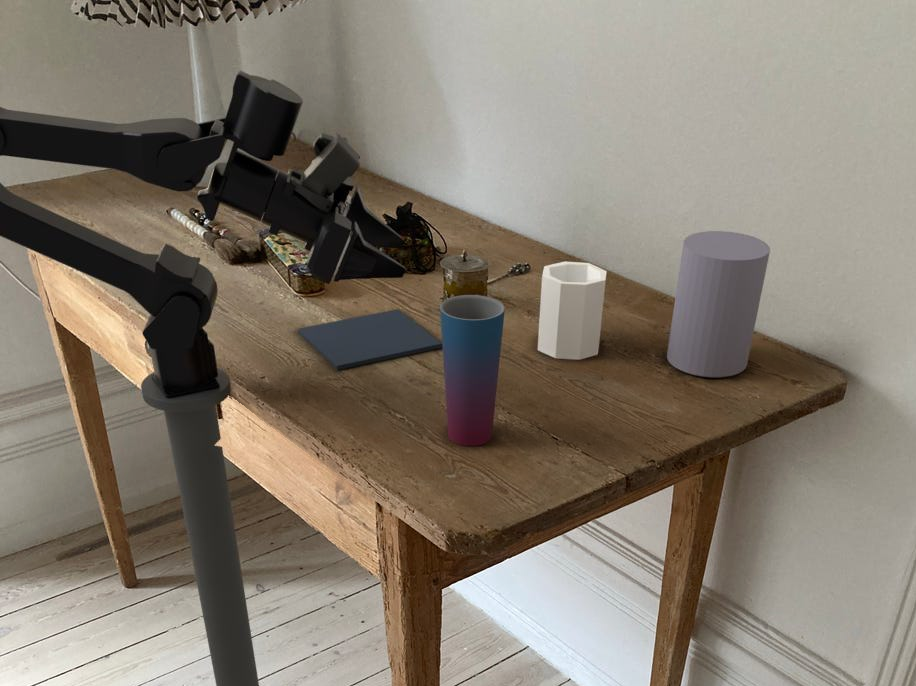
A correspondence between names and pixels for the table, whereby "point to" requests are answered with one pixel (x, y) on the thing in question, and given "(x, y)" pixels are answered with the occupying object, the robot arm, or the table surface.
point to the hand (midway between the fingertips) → (403, 258)
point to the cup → (471, 365)
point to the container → (716, 303)
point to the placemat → (369, 339)
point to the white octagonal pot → (571, 310)
